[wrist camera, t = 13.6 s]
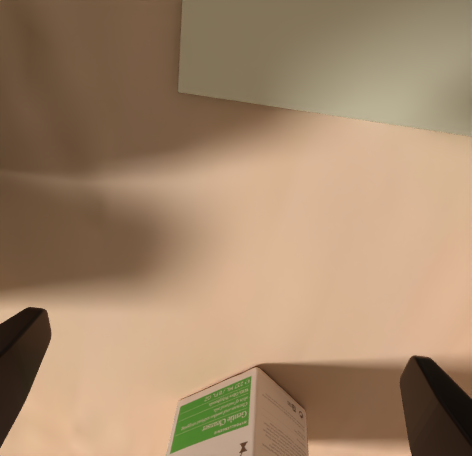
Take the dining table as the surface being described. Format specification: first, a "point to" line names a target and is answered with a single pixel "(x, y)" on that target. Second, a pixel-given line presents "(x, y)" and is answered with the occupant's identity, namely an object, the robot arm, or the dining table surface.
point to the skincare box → (239, 420)
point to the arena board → (335, 58)
